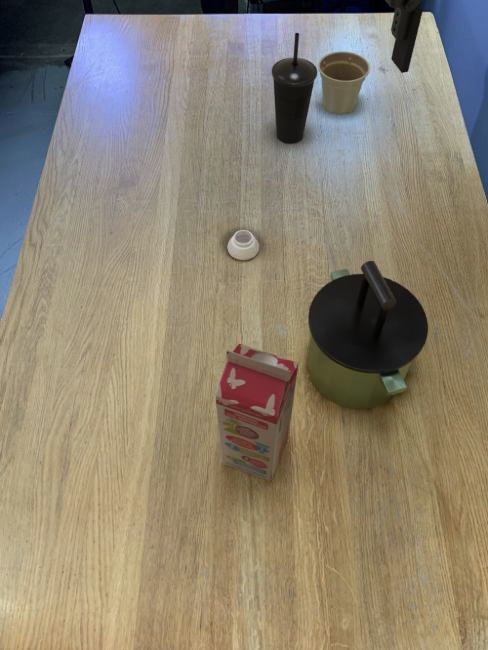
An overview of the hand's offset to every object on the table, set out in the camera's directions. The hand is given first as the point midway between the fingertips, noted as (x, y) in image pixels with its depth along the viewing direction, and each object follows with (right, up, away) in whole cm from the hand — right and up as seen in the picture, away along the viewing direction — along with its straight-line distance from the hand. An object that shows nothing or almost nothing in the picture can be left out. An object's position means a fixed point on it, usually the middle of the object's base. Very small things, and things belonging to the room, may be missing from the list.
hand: (456, 55), depth 66 cm
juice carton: (-22, -46, +11) cm, 52 cm away
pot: (-8, -35, +18) cm, 40 cm away
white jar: (-23, -18, +30) cm, 42 cm away
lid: (-8, -29, +9) cm, 32 cm away
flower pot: (-5, +13, +51) cm, 53 cm away
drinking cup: (-15, +5, +46) cm, 48 cm away
